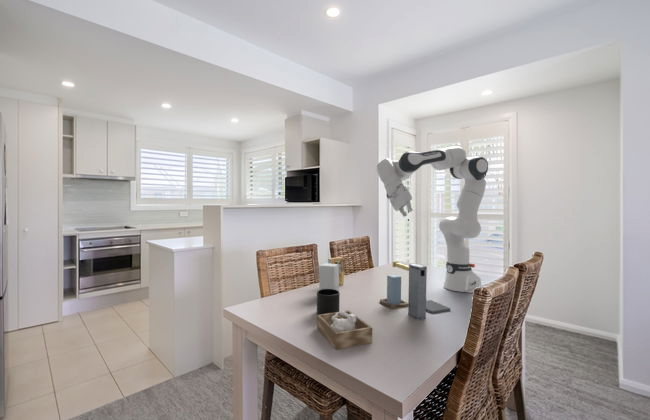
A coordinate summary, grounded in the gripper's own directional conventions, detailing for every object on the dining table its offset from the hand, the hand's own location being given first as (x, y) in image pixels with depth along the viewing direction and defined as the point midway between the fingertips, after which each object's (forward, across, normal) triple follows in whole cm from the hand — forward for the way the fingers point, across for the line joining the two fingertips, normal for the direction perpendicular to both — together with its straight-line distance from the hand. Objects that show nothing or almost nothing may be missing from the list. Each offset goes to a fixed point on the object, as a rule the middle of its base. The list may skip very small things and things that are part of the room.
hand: (408, 213), depth 149 cm
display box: (+33, -30, +52) cm, 69 cm away
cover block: (+35, +1, +25) cm, 43 cm away
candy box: (+18, +31, +45) cm, 57 cm away
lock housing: (+41, -13, +21) cm, 48 cm away
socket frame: (+35, +1, +25) cm, 43 cm away
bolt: (+23, -10, +17) cm, 30 cm away
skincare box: (+21, +13, +51) cm, 56 cm away
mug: (+26, -9, +54) cm, 61 cm away
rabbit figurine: (+34, -30, +52) cm, 69 cm away
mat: (+43, -3, +11) cm, 44 cm away
